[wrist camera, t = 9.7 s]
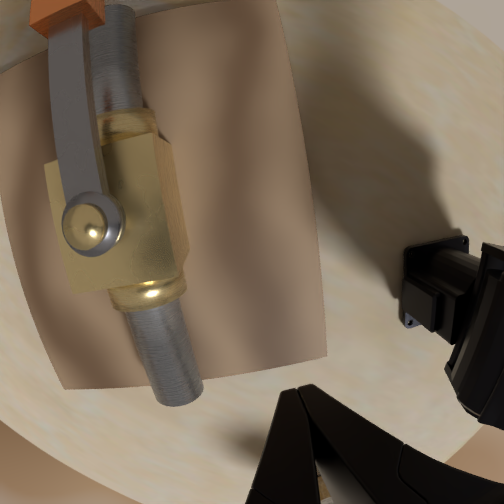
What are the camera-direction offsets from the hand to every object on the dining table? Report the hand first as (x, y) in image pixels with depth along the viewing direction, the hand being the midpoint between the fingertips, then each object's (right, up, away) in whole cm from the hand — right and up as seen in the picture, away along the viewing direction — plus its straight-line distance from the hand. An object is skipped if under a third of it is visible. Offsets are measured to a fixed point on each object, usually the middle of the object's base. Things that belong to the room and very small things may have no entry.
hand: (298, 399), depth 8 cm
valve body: (-8, +7, +11) cm, 15 cm away
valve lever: (-8, +11, +3) cm, 14 cm away
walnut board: (-8, +7, +11) cm, 15 cm away
